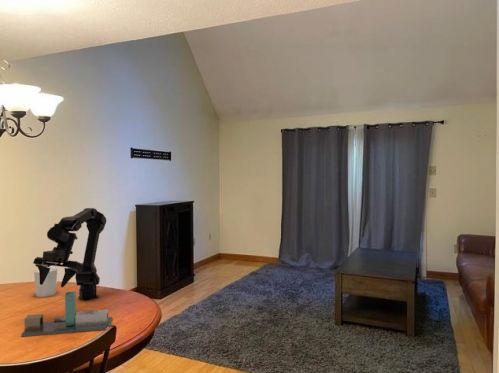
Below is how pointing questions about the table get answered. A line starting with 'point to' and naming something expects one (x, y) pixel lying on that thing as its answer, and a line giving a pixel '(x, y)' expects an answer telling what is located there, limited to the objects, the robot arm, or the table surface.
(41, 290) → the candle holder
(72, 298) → the sliding bolt with handle
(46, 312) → the table surface
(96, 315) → the sleeve and socket
